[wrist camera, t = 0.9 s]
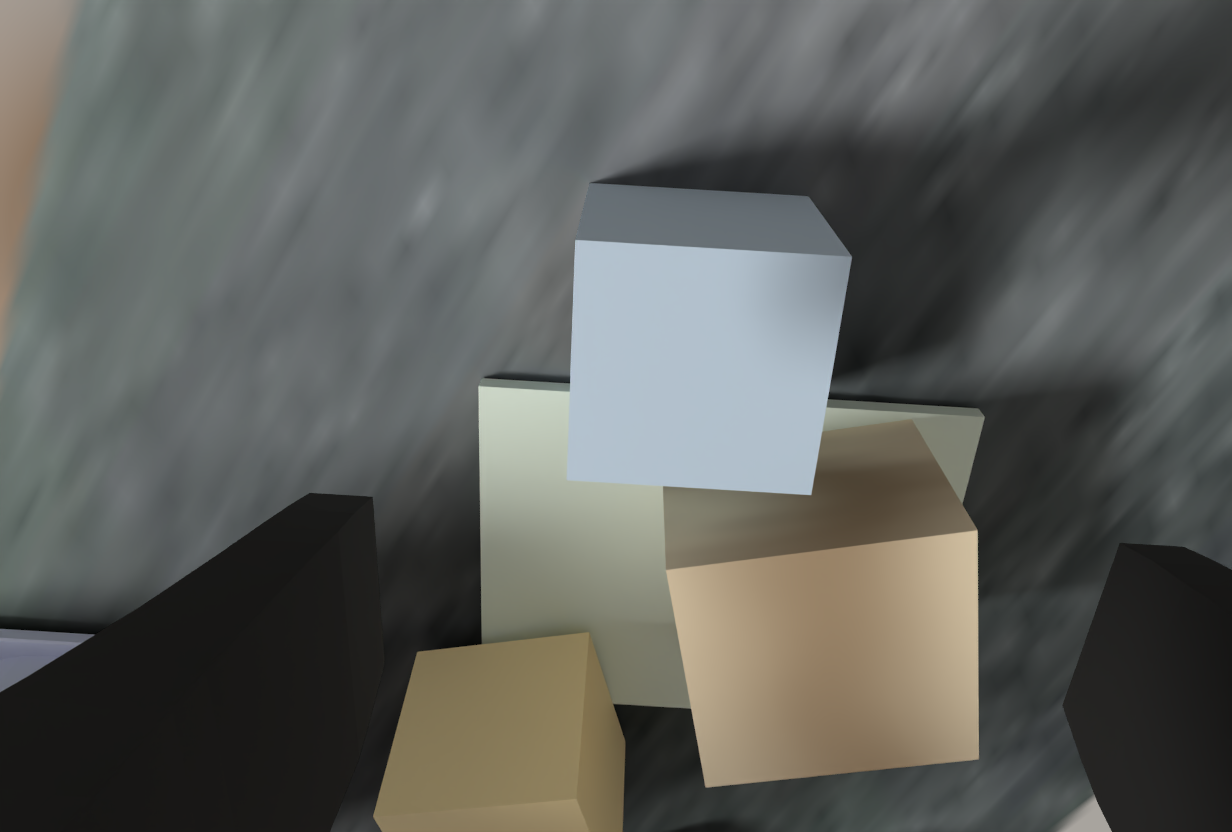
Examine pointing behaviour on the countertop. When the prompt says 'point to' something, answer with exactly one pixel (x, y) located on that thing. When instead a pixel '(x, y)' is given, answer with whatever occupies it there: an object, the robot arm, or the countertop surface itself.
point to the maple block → (829, 615)
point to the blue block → (702, 338)
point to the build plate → (614, 534)
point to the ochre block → (506, 742)
